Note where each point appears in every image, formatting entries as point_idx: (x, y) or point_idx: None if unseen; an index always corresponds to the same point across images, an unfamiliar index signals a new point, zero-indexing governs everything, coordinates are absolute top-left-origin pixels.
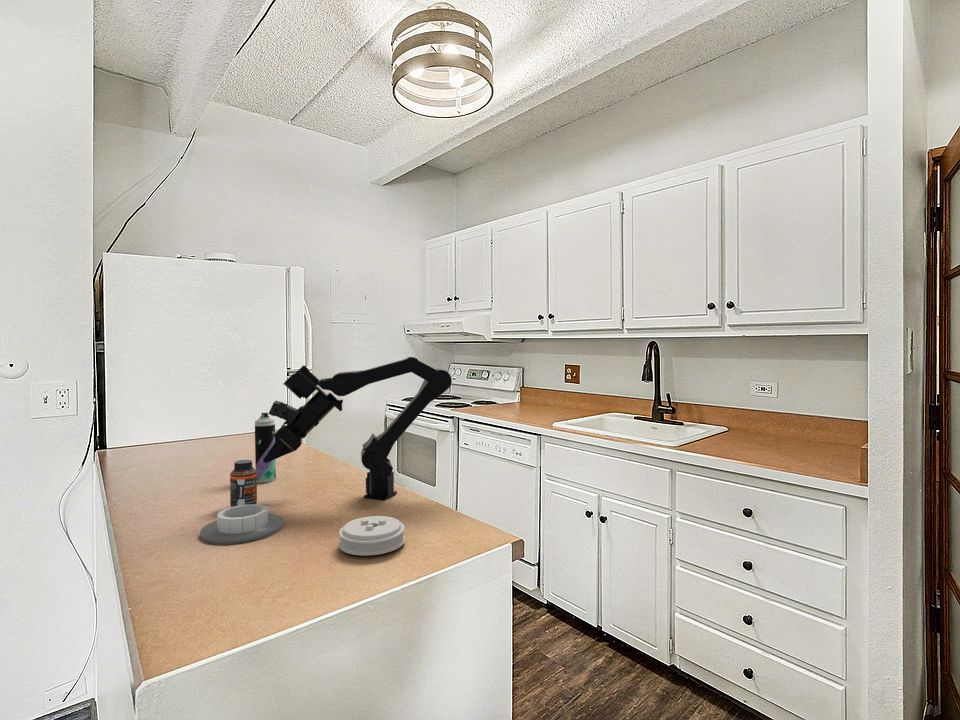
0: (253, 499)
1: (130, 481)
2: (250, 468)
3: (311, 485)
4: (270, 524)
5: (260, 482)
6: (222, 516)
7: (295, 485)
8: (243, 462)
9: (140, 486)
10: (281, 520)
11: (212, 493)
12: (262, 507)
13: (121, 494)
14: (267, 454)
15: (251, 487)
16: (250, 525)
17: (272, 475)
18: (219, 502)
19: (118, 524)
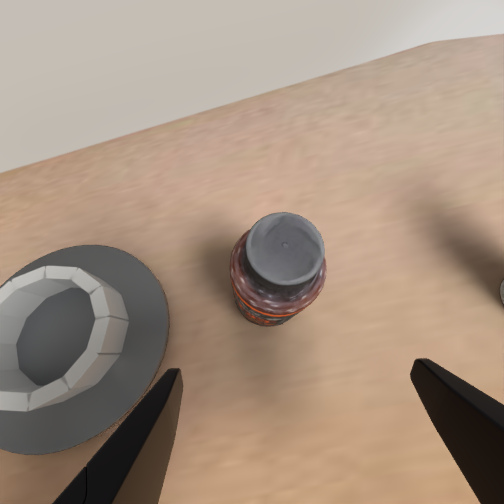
0: (250, 319)
1: (472, 53)
2: (266, 289)
3: None
4: (32, 415)
5: (501, 290)
6: (20, 283)
7: None
8: (256, 251)
9: (441, 73)
10: (51, 447)
11: (392, 197)
12: (47, 388)
13: (388, 66)
14: (131, 414)
15: (245, 309)
16: None
17: None
18: None
19: (213, 110)
